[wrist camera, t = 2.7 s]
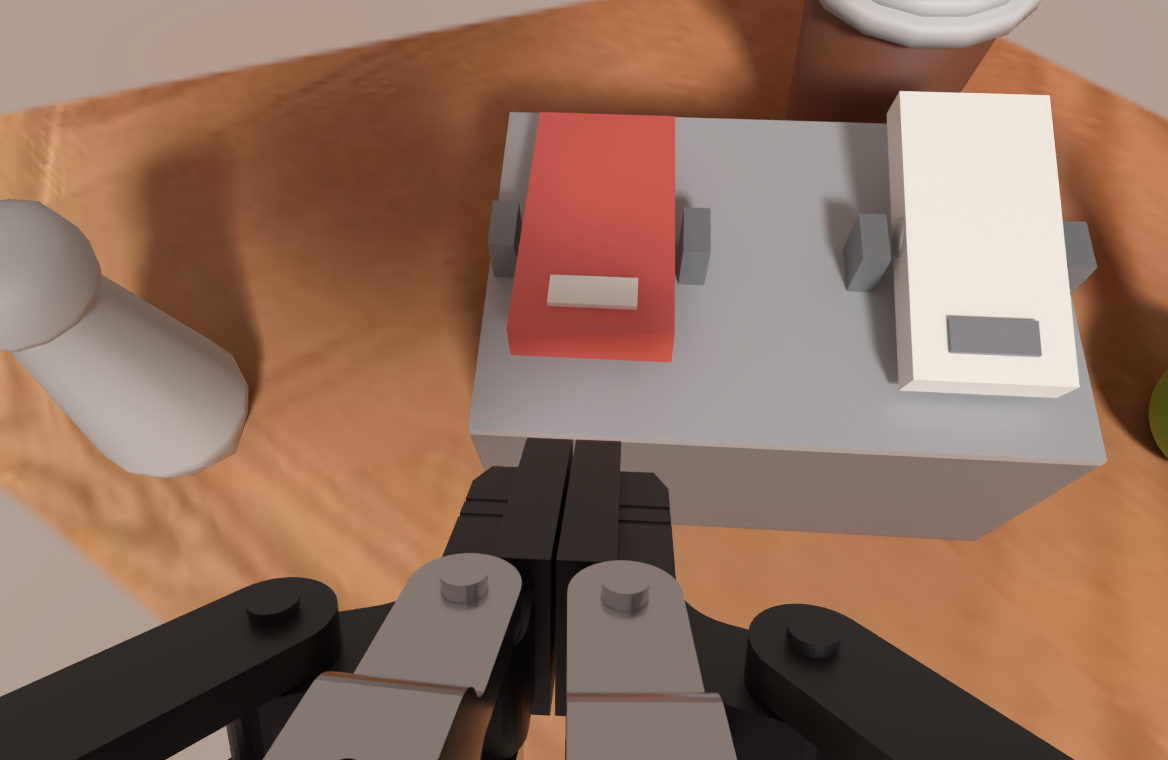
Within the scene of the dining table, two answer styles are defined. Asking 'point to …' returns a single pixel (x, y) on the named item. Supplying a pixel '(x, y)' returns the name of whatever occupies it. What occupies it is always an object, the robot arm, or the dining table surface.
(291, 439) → the dining table surface
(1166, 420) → the snail figurine
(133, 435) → the salt shaker
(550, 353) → the red rocker
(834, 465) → the switch box
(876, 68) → the coffee cup
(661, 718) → the robot arm
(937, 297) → the white rocker
